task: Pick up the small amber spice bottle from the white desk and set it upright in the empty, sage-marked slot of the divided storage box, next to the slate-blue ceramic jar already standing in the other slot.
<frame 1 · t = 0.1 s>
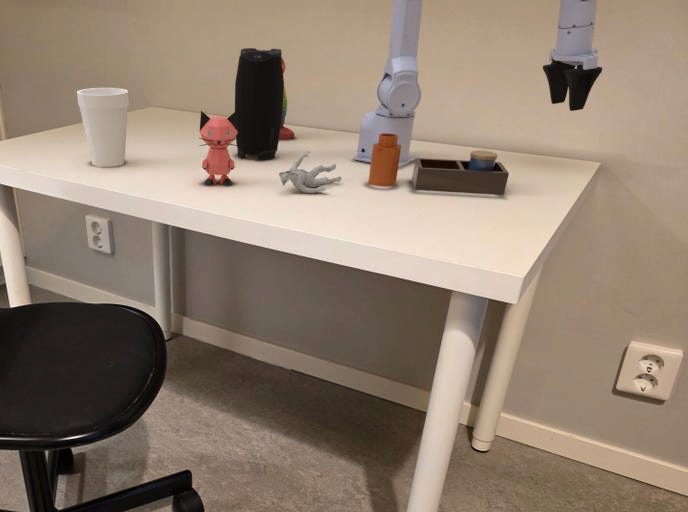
hand: (566, 106, 119), 11 cm above the table, tool pointing down, fingers open, 7 cm apart
soldier figure: (309, 189, 110), on the table
cat figurine: (218, 183, 113), on the table
blue jar: (476, 187, 108), point 1 cm above the table, touching divided storage box
foam cup: (108, 164, 124), on the table
divided storage box: (455, 189, 109), on the table
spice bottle: (381, 185, 111), on the table
portable speaker: (256, 157, 129), on the table
stacking bear: (265, 137, 145), on the table
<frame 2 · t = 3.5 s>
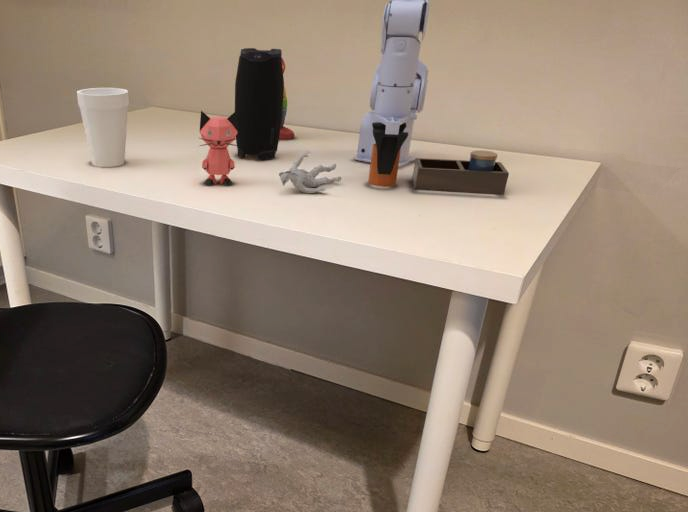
hand: (383, 170, 109), 3 cm above the table, tool pointing down, fingers closed on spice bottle, 4 cm apart
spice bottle: (381, 185, 111), on the table, touching gripper
everything else where it was.
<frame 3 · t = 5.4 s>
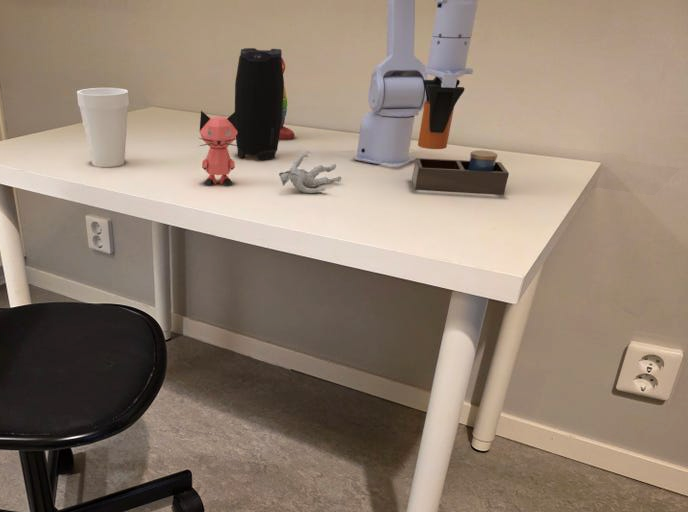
hand: (435, 129, 105), 10 cm above the table, tool pointing down, fingers closed on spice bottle, 4 cm apart
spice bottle: (432, 146, 106), point 7 cm above the table, touching gripper
everything else where it was.
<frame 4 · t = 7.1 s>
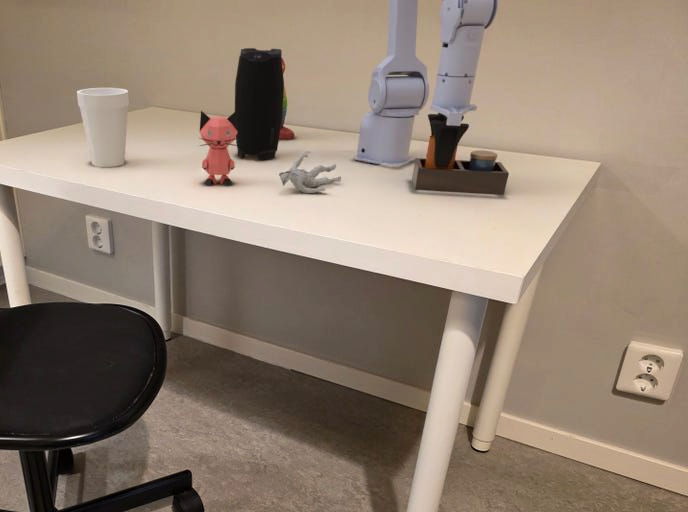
hand: (439, 162, 107), 4 cm above the table, tool pointing down, fingers closed on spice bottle, 4 cm apart
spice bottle: (436, 178, 109), point 2 cm above the table, touching gripper
everything else where it was.
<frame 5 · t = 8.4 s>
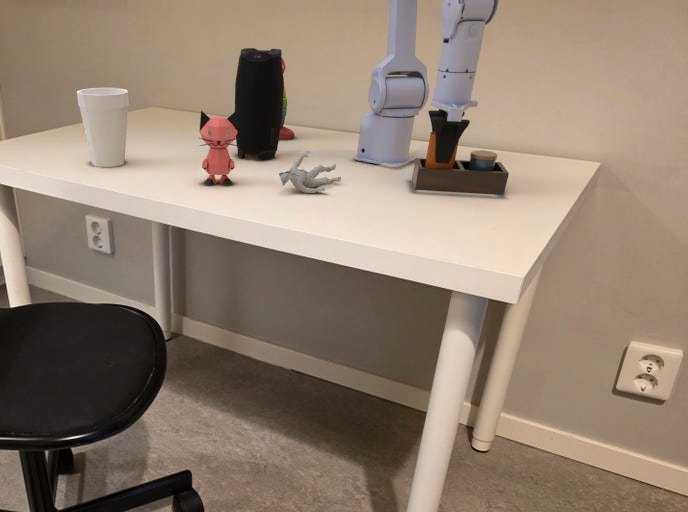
hand: (440, 159, 107), 5 cm above the table, tool pointing down, fingers closed on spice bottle, 5 cm apart
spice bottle: (437, 175, 108), point 2 cm above the table, touching gripper
everything else where it was.
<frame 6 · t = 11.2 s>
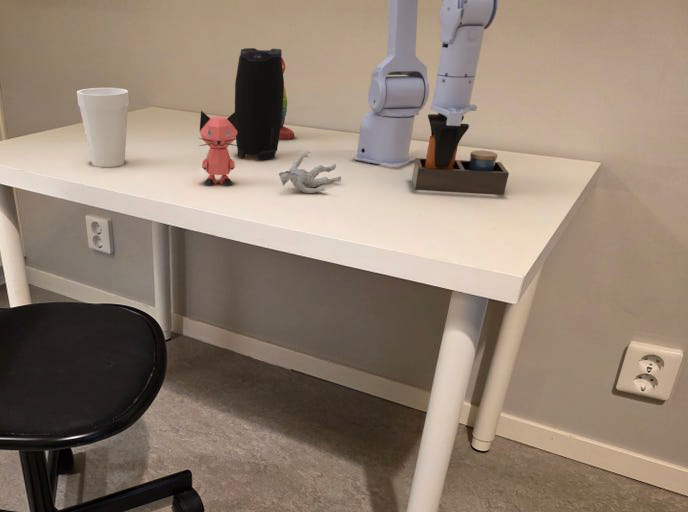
hand: (439, 162, 107), 4 cm above the table, tool pointing down, fingers closed on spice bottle, 5 cm apart
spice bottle: (436, 178, 109), point 2 cm above the table, touching gripper
everything else where it was.
when the fingers open (5 cm above the table, at t = 13.4 s): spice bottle drops 2 cm, resting on divided storage box.
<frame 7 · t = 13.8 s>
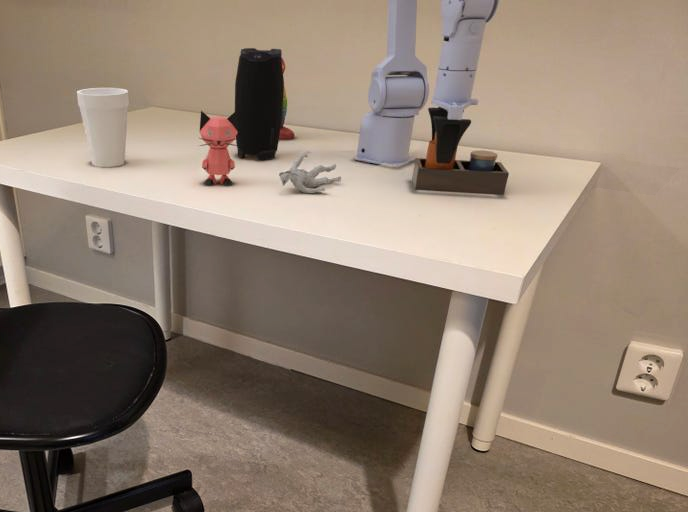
hand: (440, 157, 107), 5 cm above the table, tool pointing down, fingers open, 7 cm apart
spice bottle: (435, 183, 109), point 1 cm above the table, touching divided storage box
everything else where it was.
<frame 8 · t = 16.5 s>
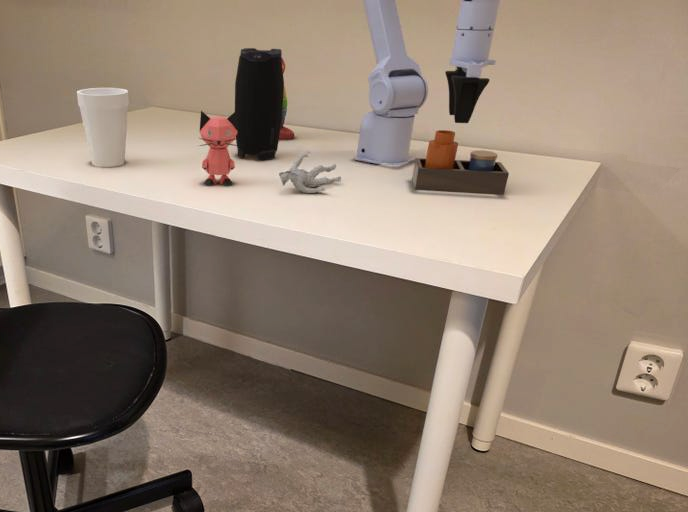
hand: (458, 118, 109), 10 cm above the table, tool pointing down, fingers open, 7 cm apart
nothing on the table moved.
at the end: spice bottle 0.0 cm from the target spot in the divided storage box, point 0.8 cm above the divided storage box's base; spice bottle tilted 0°; blue jar moved 0.0 cm from its start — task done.
